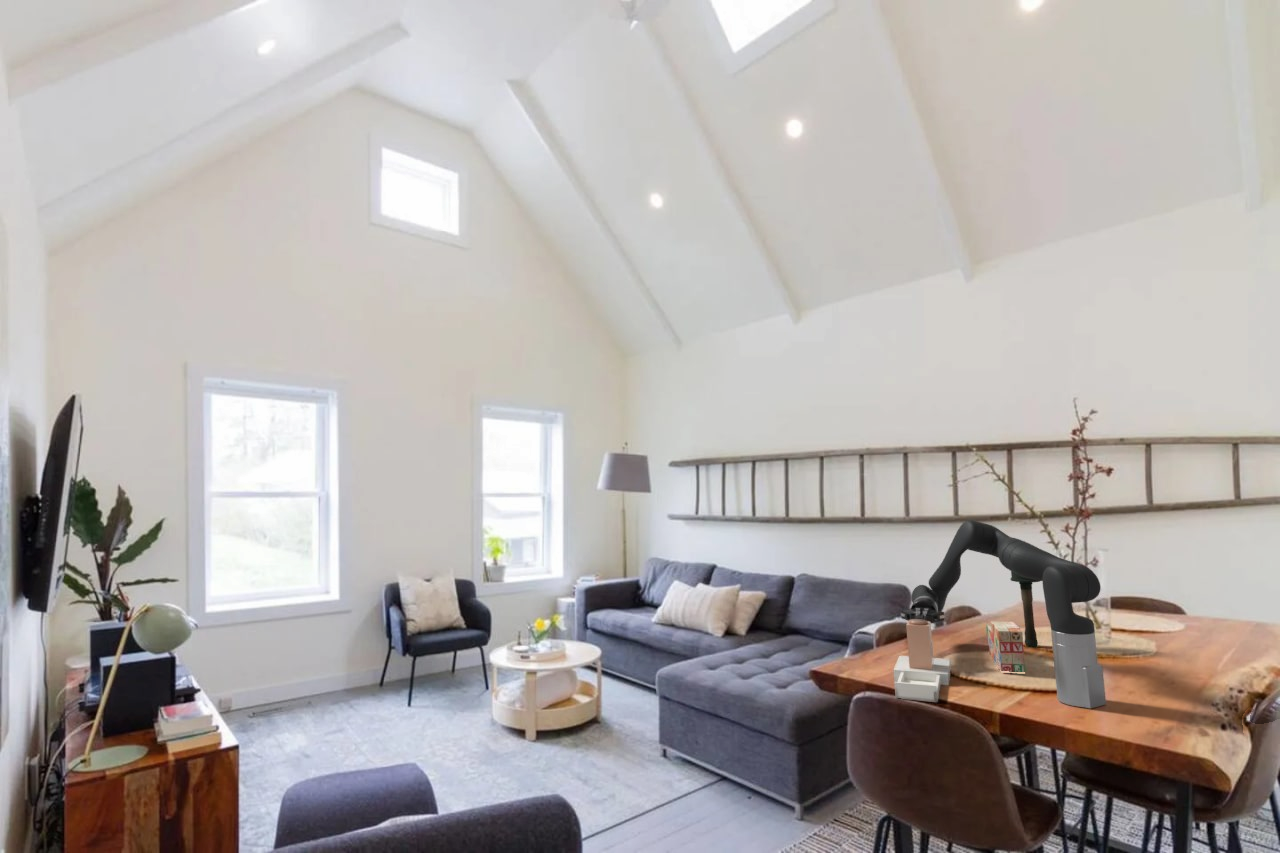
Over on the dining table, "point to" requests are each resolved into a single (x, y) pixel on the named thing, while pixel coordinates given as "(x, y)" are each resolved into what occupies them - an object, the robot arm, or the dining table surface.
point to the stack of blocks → (1006, 646)
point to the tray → (917, 689)
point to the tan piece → (920, 644)
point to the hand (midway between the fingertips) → (920, 621)
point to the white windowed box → (923, 671)
